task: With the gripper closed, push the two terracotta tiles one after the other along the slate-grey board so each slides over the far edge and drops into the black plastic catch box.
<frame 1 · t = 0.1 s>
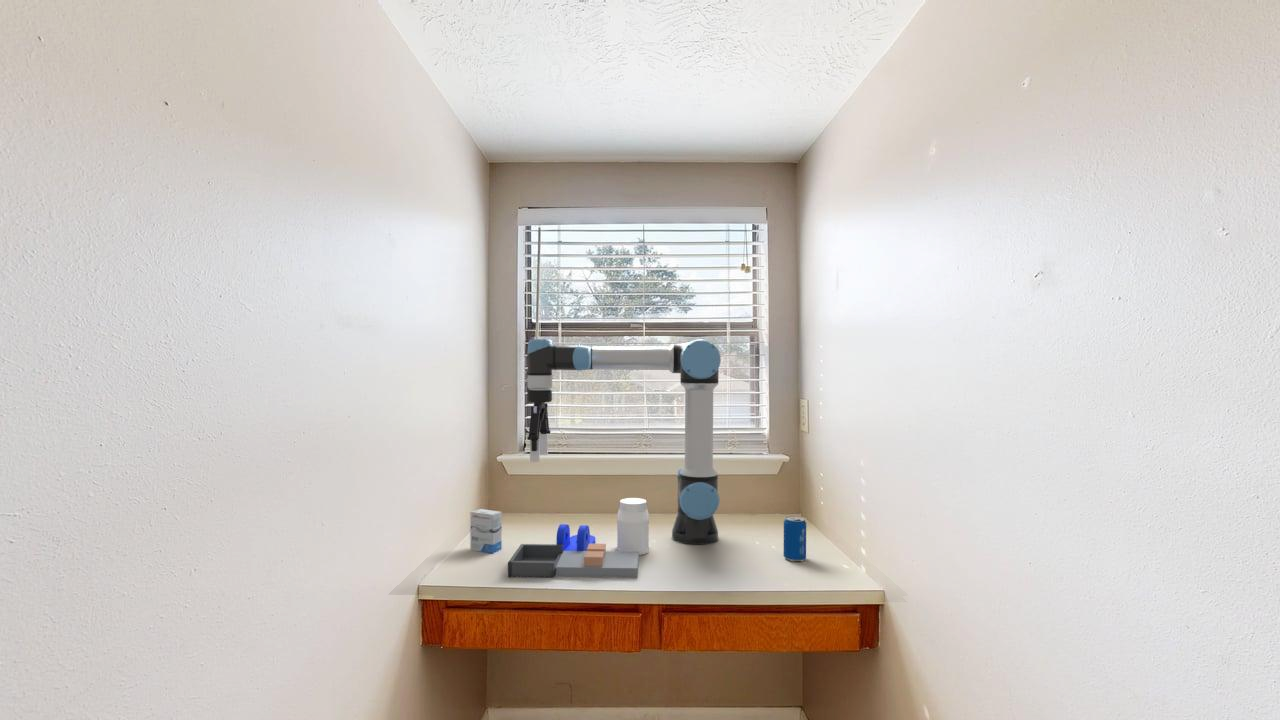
hand: (539, 458, 187), 28 cm above the table, fingers open, 13 cm apart
beverage can: (794, 559, 179), on the table
jar: (632, 550, 187), on the table
tile 1: (596, 555, 174), point 2 cm above the table, touching board
tile 2: (594, 563, 167), point 2 cm above the table, touching board
catch box: (536, 567, 170), on the table
board: (598, 568, 170), on the table
bracket: (578, 550, 187), on the table
ink box: (486, 550, 186), on the table
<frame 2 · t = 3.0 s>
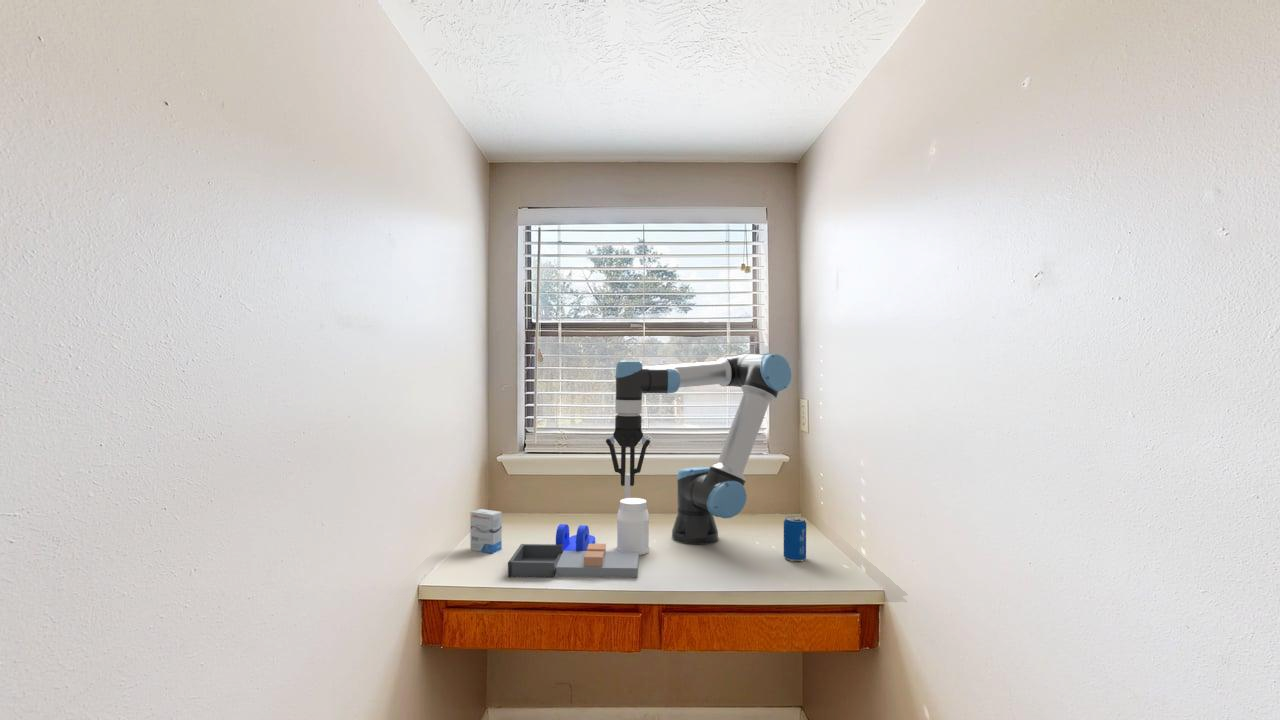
hand: (627, 497, 173), 19 cm above the table, fingers closed
nothing on the table moved.
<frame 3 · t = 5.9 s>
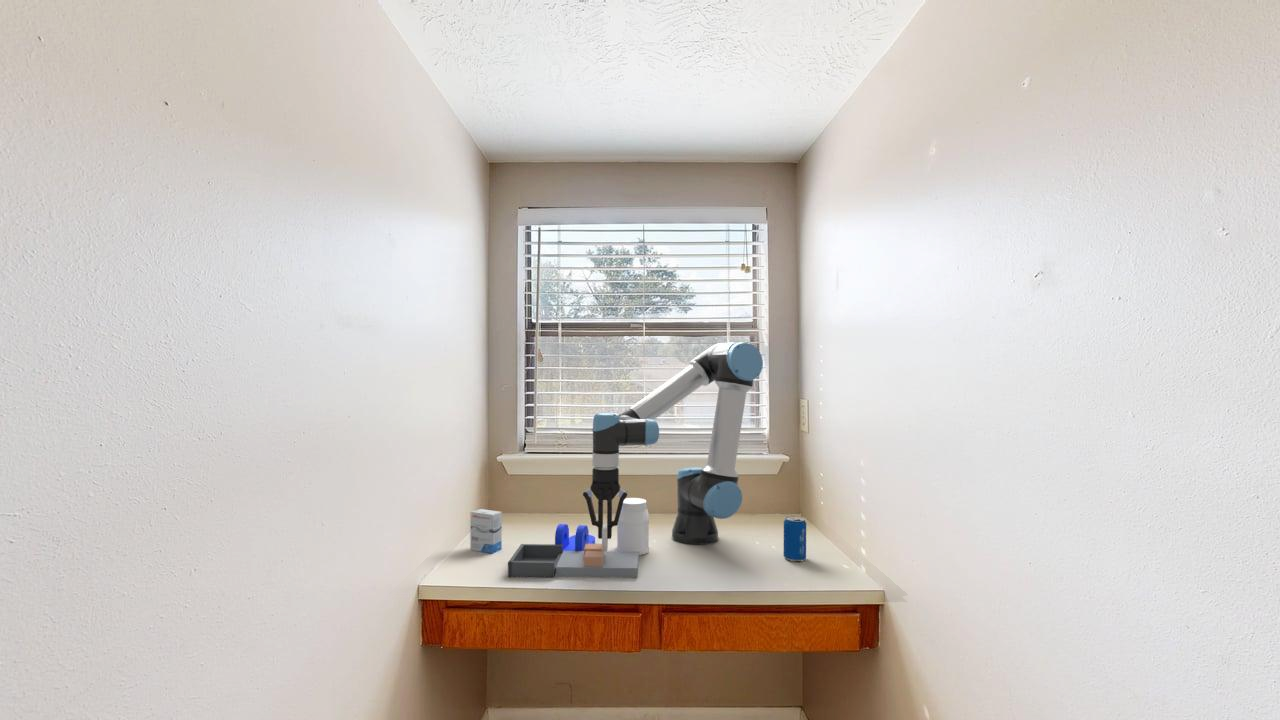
hand: (604, 549, 173), 4 cm above the table, fingers closed
tile 1: (593, 555, 174), point 3 cm above the table, touching board, gripper
everything else where it was.
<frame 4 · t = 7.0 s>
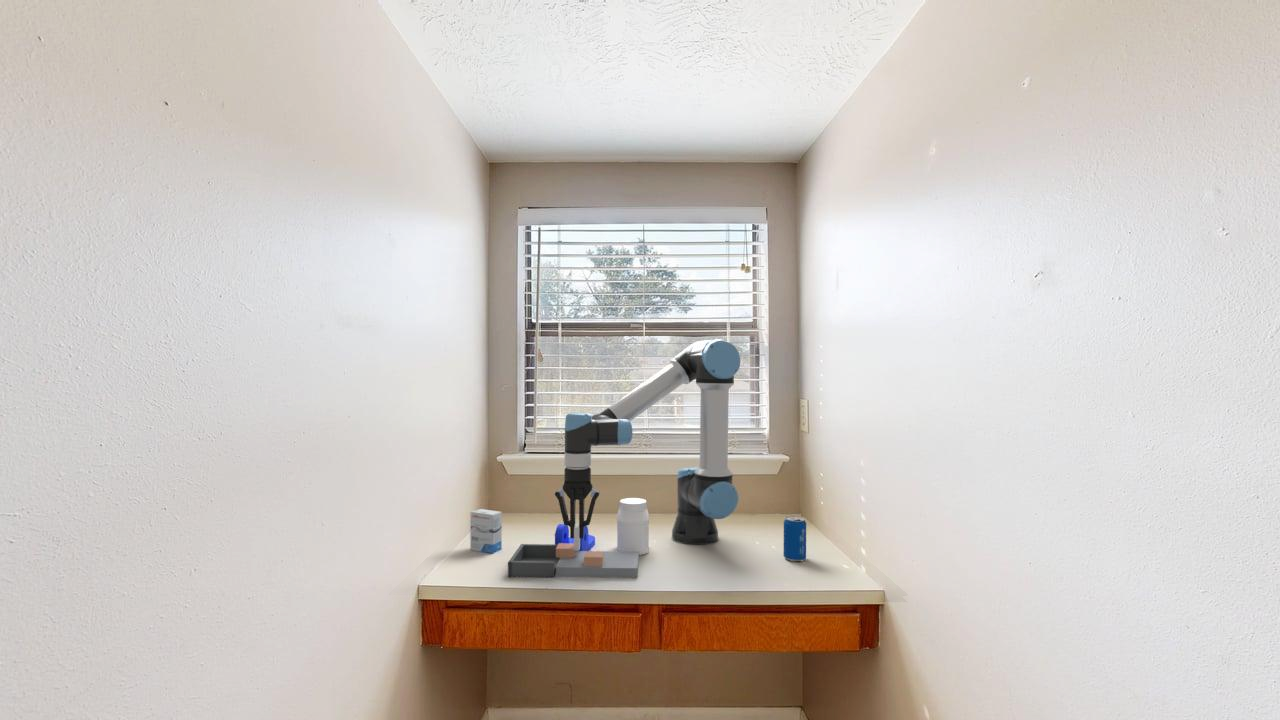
hand: (576, 549, 174), 4 cm above the table, fingers closed
tile 1: (565, 554, 174), point 3 cm above the table, touching gripper
everything else where it was.
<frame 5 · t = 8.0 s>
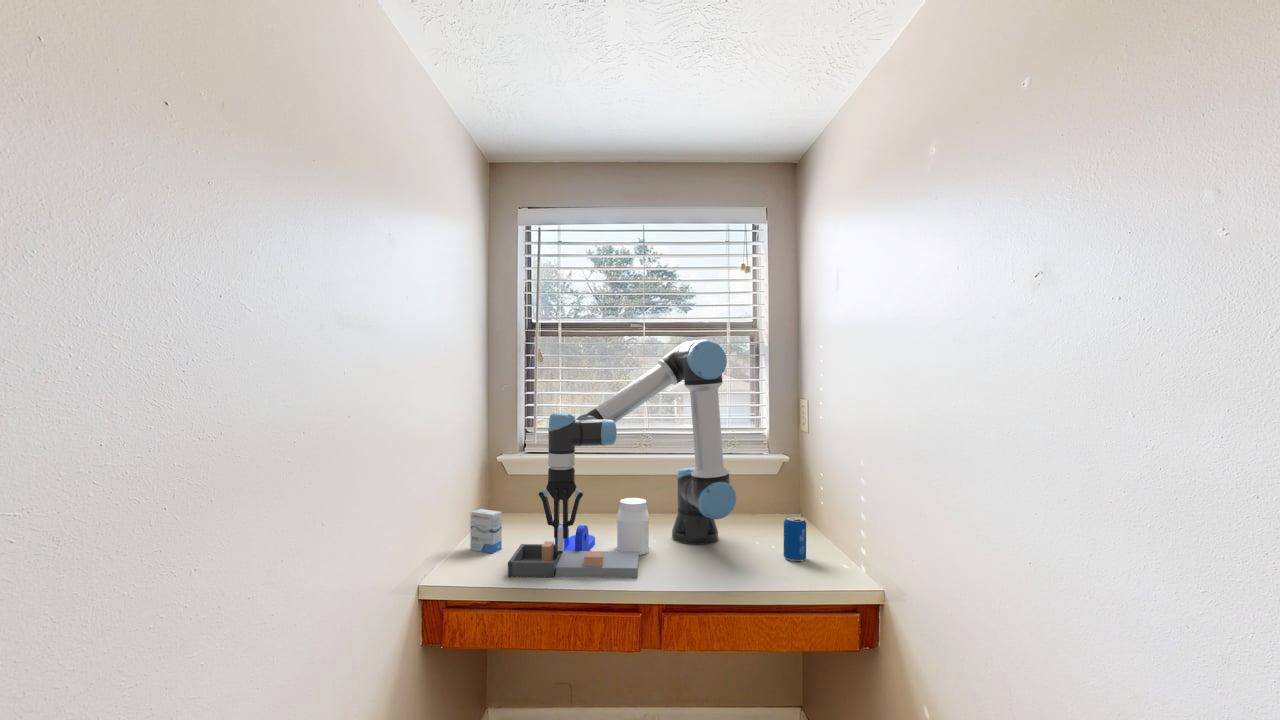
hand: (560, 549, 174), 4 cm above the table, fingers closed
tile 1: (552, 552, 174), point 3 cm above the table, tilted 90°, touching catch box
everything else where it was.
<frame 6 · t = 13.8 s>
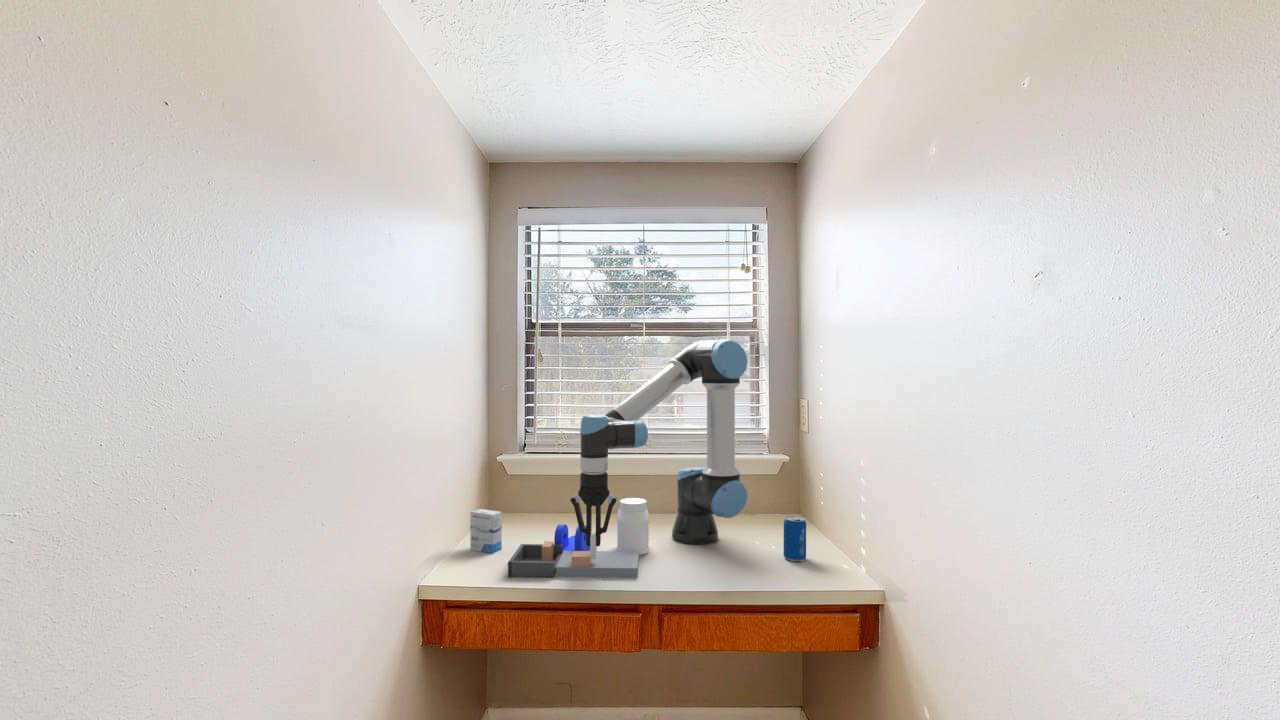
hand: (593, 557, 166), 4 cm above the table, fingers closed
tile 2: (581, 563, 167), point 3 cm above the table, touching gripper
everything else where it was.
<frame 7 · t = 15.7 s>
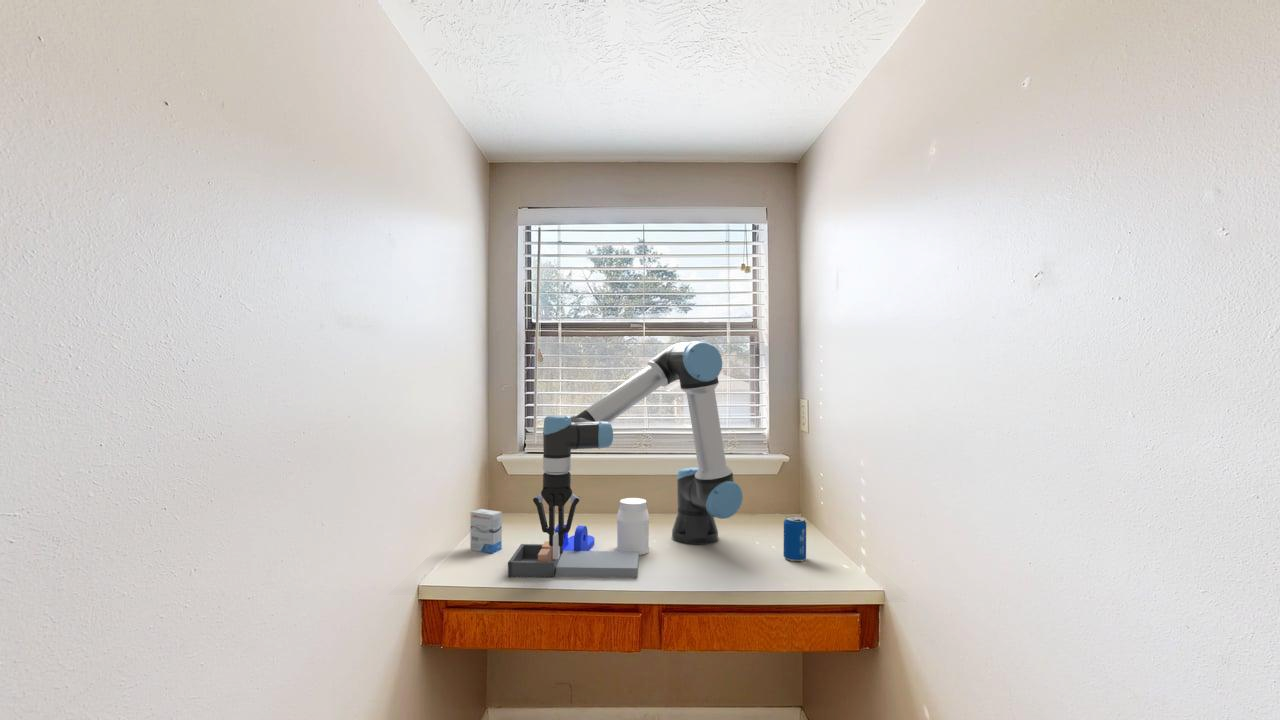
hand: (556, 557, 167), 4 cm above the table, fingers closed
tile 2: (548, 560, 167), point 3 cm above the table, tilted 90°, touching catch box
everything else where it was.
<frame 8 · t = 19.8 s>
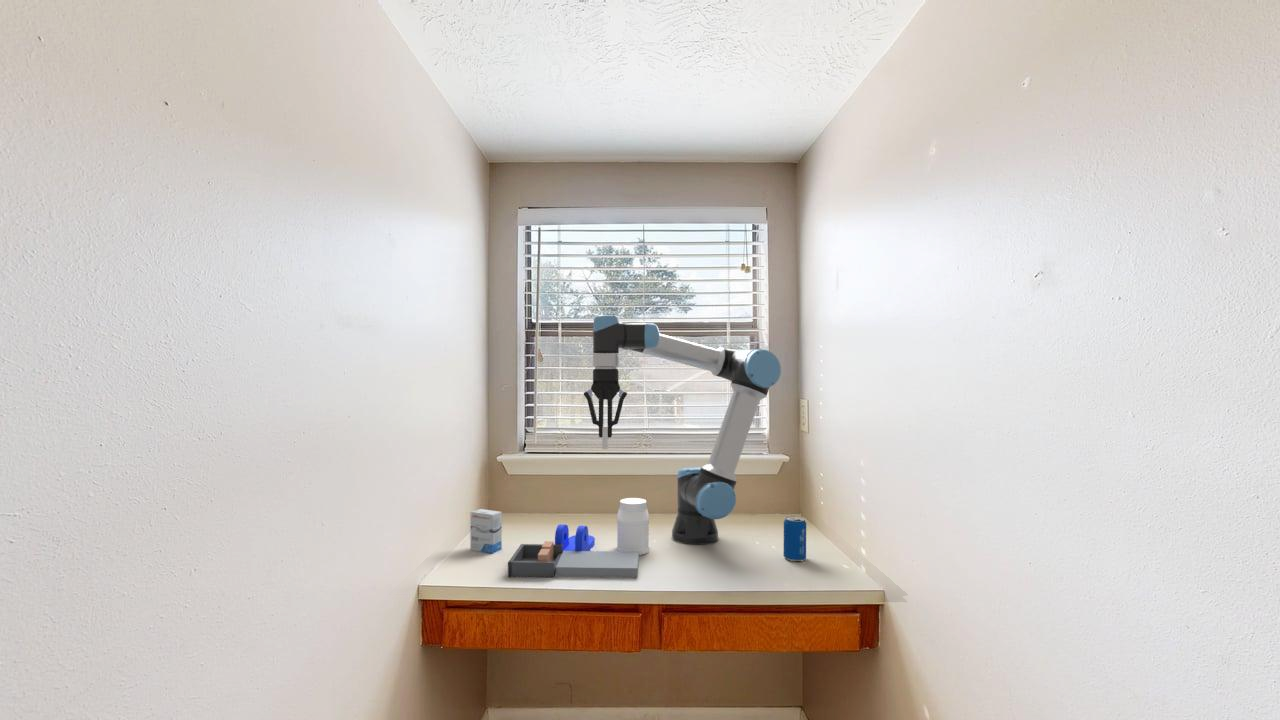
hand: (605, 448, 178), 32 cm above the table, fingers closed
nothing on the table moved.
at the end: tile 1 inside the target area on the catch box (5.1 cm from its centre), point 3.0 cm above the catch box's base; tile 2 inside the target area on the catch box (5.3 cm from its centre), point 3.0 cm above the catch box's base; tile 1 point 3.0 cm above the table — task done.
